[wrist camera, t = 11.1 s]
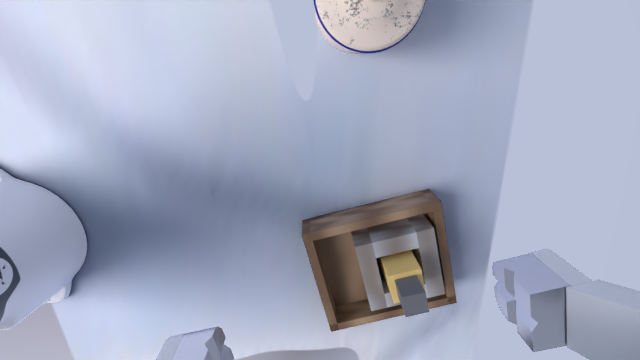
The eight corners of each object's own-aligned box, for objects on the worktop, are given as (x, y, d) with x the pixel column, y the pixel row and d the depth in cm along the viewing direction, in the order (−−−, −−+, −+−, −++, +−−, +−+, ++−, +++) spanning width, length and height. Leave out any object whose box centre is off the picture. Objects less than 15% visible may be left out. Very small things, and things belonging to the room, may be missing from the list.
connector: (381, 268, 44) (401, 323, 35) (375, 244, 43) (394, 294, 34) (408, 261, 44) (436, 314, 35) (403, 237, 43) (430, 285, 33)
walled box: (329, 310, 47) (331, 337, 42) (302, 220, 43) (301, 239, 38) (444, 283, 46) (459, 308, 42) (428, 188, 42) (444, 204, 37)
